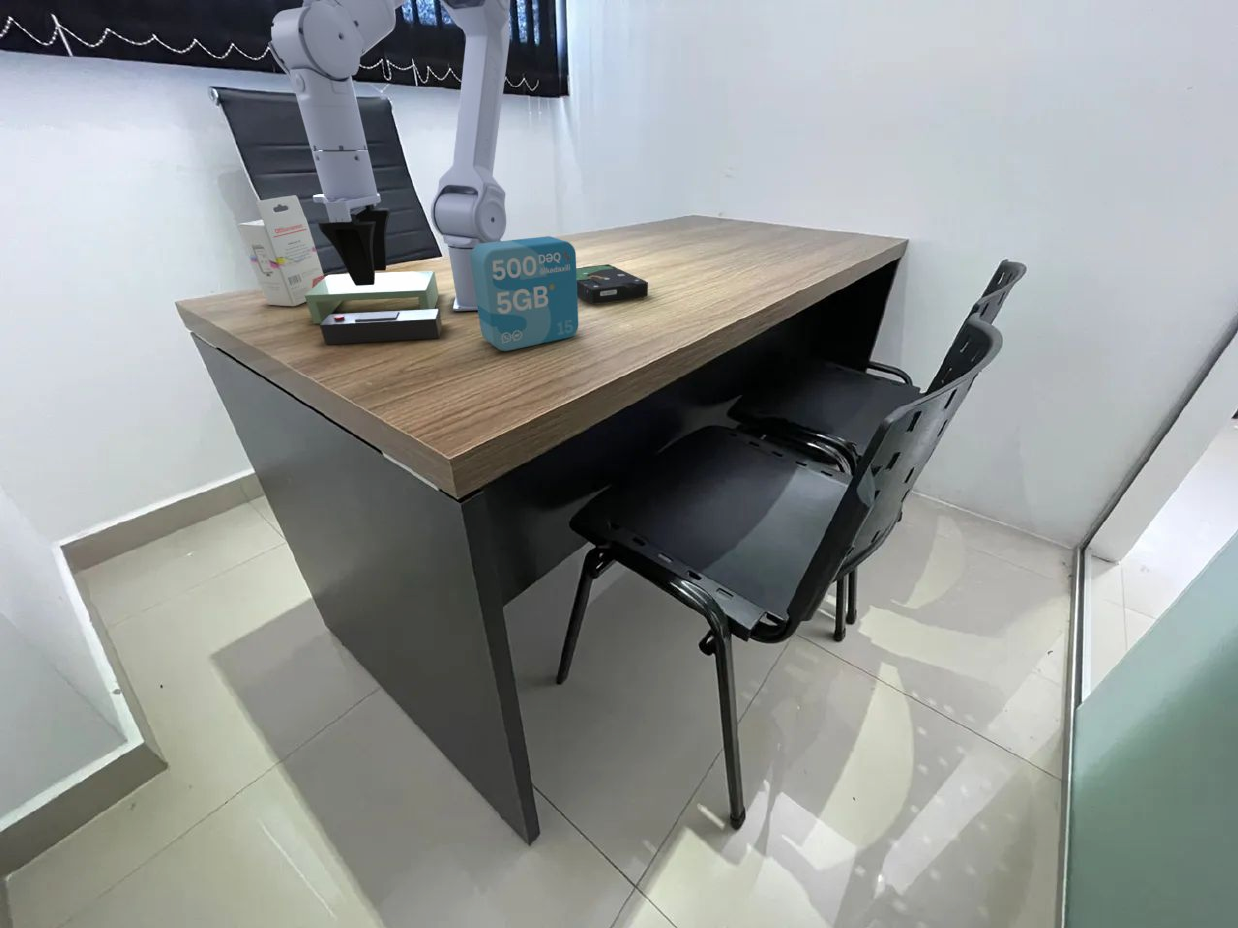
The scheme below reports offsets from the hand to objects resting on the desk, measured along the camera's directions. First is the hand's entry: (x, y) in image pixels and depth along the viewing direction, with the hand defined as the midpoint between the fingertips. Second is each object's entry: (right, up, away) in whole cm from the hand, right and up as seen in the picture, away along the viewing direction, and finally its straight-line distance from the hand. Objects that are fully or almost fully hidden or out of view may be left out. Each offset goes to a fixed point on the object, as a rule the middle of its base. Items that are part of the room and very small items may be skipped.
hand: (371, 277), depth 64 cm
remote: (0, -6, +4) cm, 8 cm away
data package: (+20, -7, +3) cm, 21 cm away
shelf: (-5, 0, +14) cm, 15 cm away
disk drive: (+28, +6, +24) cm, 37 cm away
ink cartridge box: (-21, +3, +19) cm, 28 cm away
